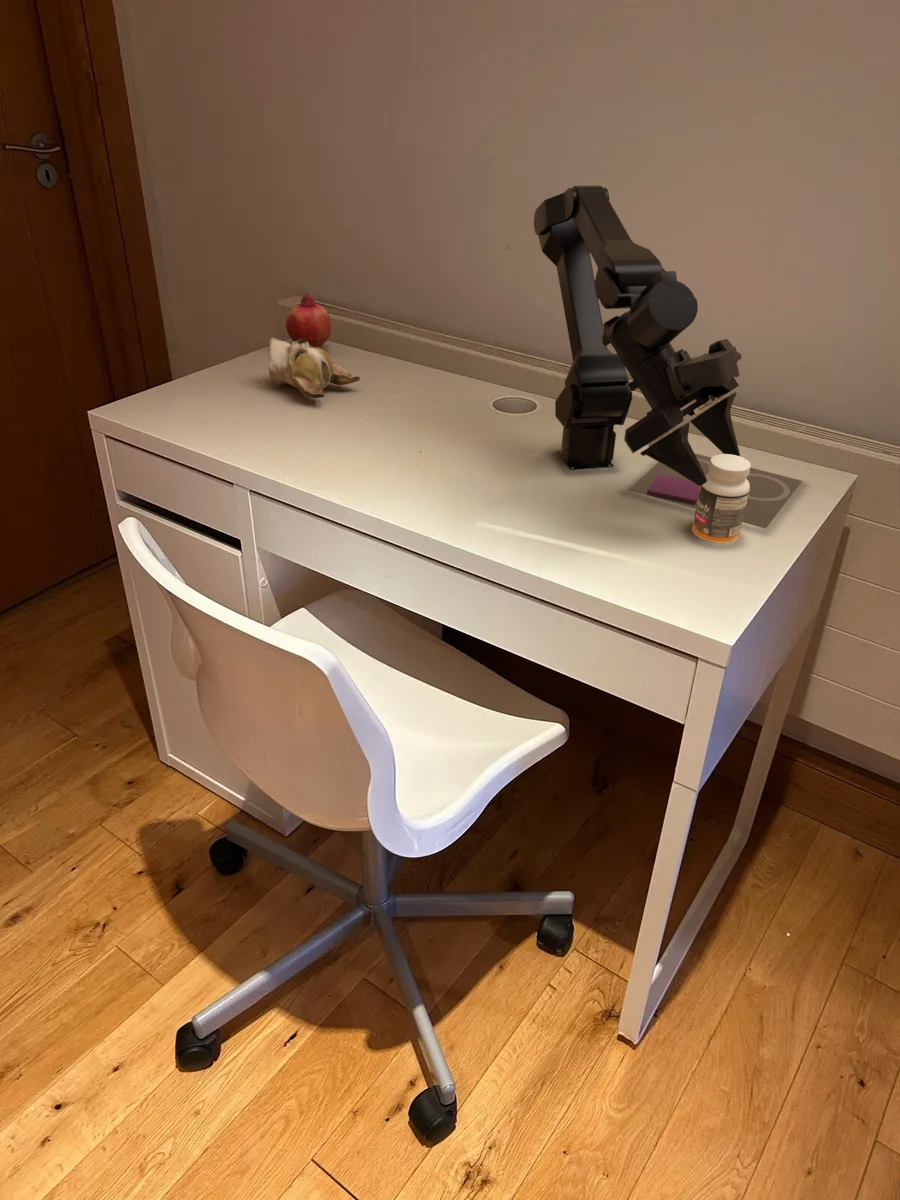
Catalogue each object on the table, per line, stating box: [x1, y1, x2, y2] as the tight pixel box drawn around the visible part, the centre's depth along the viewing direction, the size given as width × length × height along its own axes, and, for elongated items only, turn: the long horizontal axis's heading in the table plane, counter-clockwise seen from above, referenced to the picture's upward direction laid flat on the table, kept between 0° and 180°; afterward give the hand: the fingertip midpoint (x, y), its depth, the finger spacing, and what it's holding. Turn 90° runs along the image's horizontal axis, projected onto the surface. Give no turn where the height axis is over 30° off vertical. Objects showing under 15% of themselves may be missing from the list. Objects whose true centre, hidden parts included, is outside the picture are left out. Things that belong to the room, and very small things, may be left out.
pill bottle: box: [691, 453, 752, 544], centre depth 112 cm, size 6×6×10 cm
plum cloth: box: [647, 474, 700, 503], centre depth 124 cm, size 6×6×1 cm
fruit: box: [285, 292, 332, 348], centre depth 167 cm, size 8×8×10 cm
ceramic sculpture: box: [267, 337, 361, 399], centre depth 151 cm, size 11×9×15 cm
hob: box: [628, 452, 803, 529], centre depth 126 cm, size 16×18×1 cm
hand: (720, 471), depth 111 cm, fingers open, 9 cm apart
